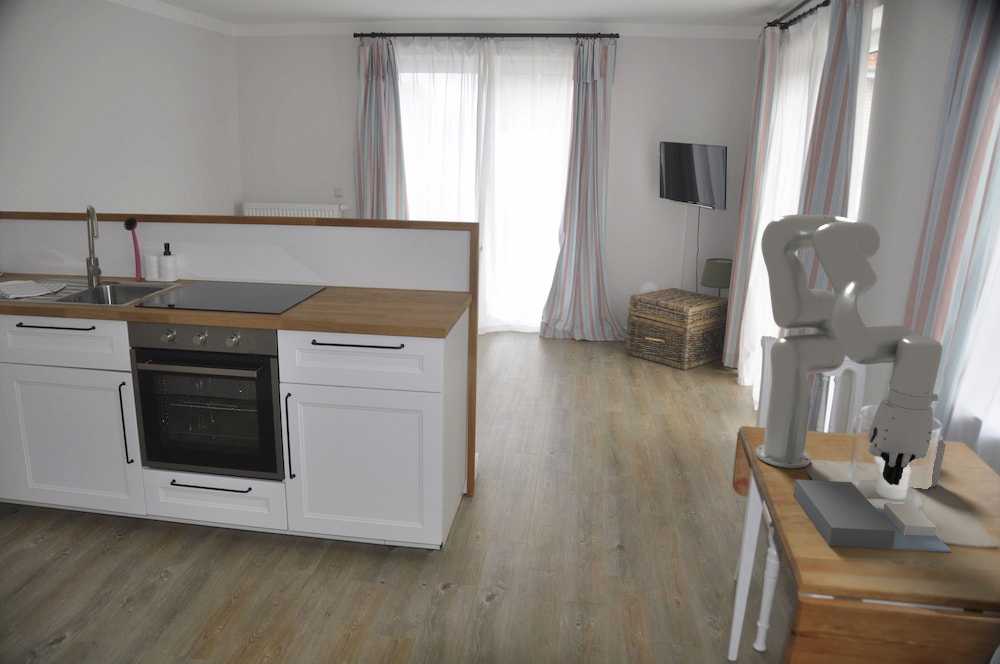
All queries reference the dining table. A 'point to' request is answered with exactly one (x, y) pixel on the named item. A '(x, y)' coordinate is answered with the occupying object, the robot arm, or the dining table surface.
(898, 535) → the mat
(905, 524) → the tile
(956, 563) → the dining table surface
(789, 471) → the dining table surface
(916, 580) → the dining table surface
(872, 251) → the robot arm
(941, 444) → the can
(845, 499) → the panel
